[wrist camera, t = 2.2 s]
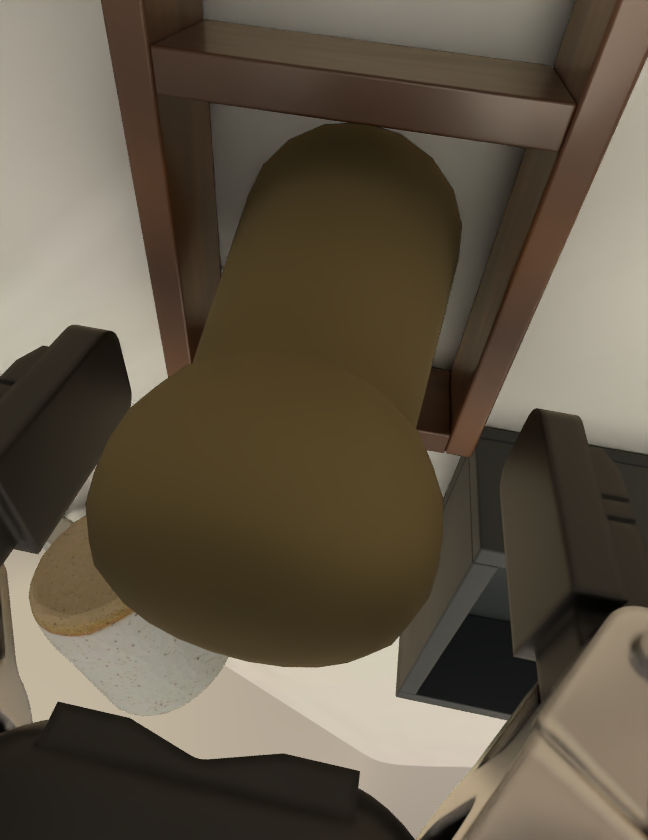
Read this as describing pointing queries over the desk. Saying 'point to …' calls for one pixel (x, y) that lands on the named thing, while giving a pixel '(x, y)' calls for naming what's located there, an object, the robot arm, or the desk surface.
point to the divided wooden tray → (382, 107)
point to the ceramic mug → (112, 632)
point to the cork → (295, 419)
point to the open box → (481, 592)
